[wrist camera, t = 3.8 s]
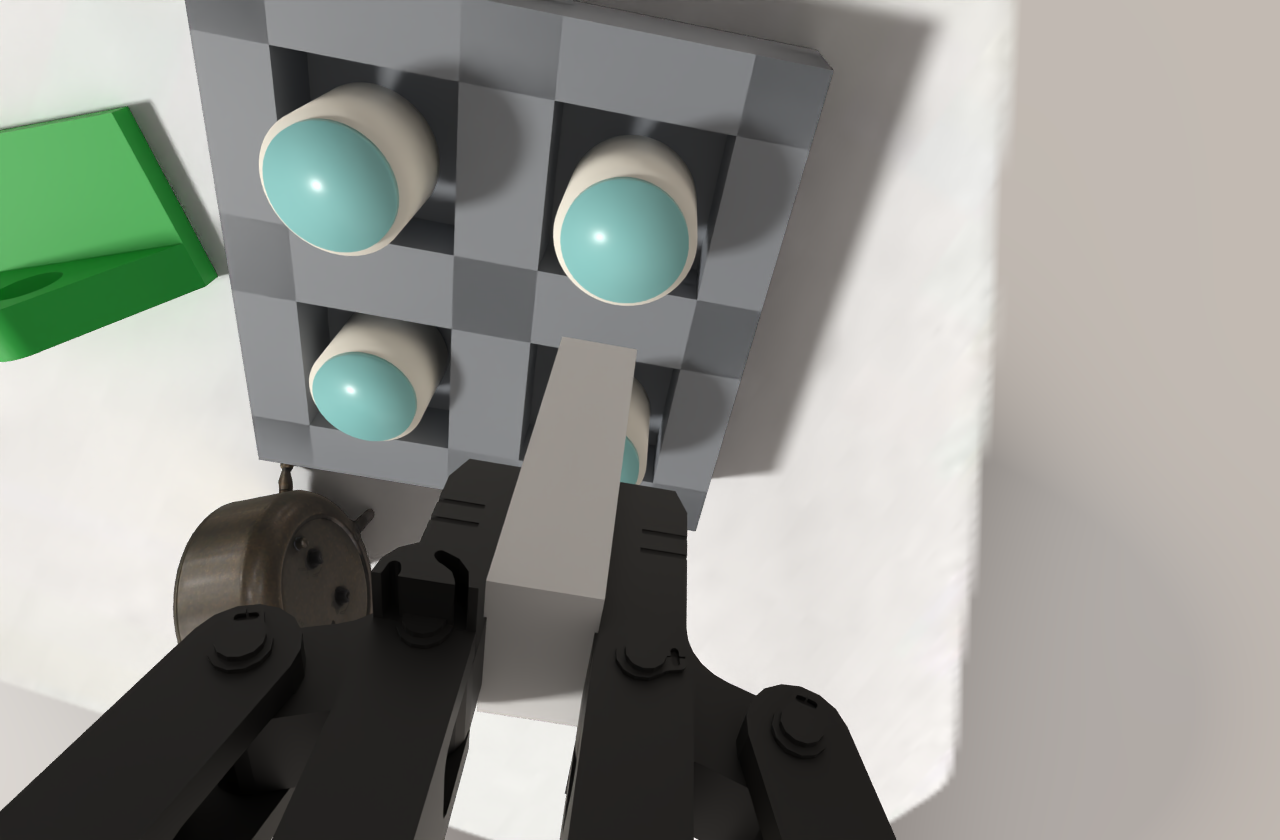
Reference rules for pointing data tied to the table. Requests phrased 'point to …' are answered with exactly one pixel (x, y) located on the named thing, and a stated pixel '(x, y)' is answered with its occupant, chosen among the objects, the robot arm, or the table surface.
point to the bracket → (87, 231)
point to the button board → (504, 213)
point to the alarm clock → (276, 561)
